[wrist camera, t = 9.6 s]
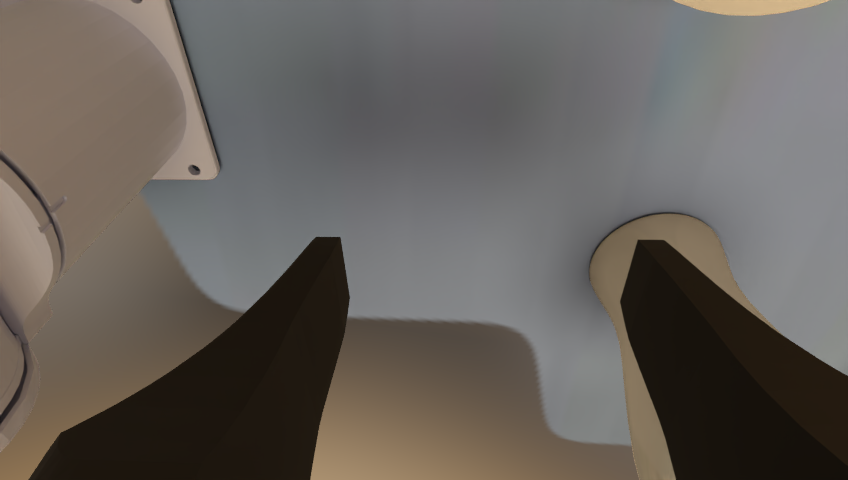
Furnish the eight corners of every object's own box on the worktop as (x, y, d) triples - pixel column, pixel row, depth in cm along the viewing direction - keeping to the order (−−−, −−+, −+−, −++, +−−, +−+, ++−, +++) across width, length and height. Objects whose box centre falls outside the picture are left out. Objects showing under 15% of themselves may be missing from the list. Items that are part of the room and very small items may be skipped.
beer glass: (555, 294, 27) (637, 658, 15) (626, 185, 22) (820, 567, 11) (674, 326, 28) (841, 689, 16) (762, 227, 23) (1080, 619, 12)
